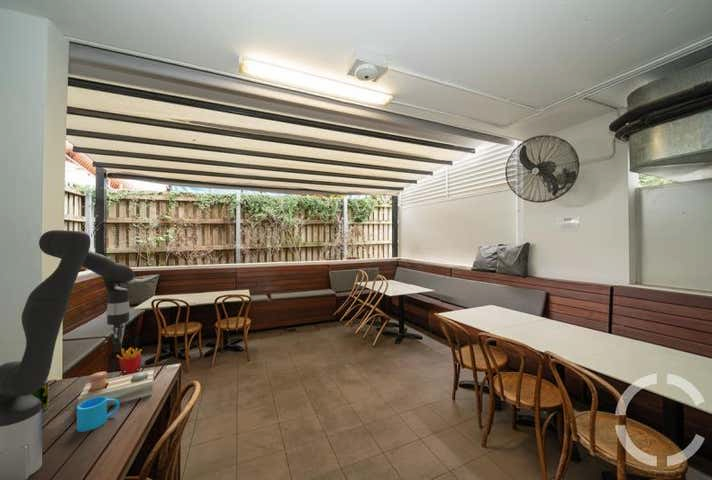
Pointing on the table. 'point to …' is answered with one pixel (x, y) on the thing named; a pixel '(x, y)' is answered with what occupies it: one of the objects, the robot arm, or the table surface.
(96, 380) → the terracotta plug
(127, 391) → the plug console
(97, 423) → the mug
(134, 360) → the french fries
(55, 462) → the table surface
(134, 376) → the grey plug
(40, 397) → the beer can
